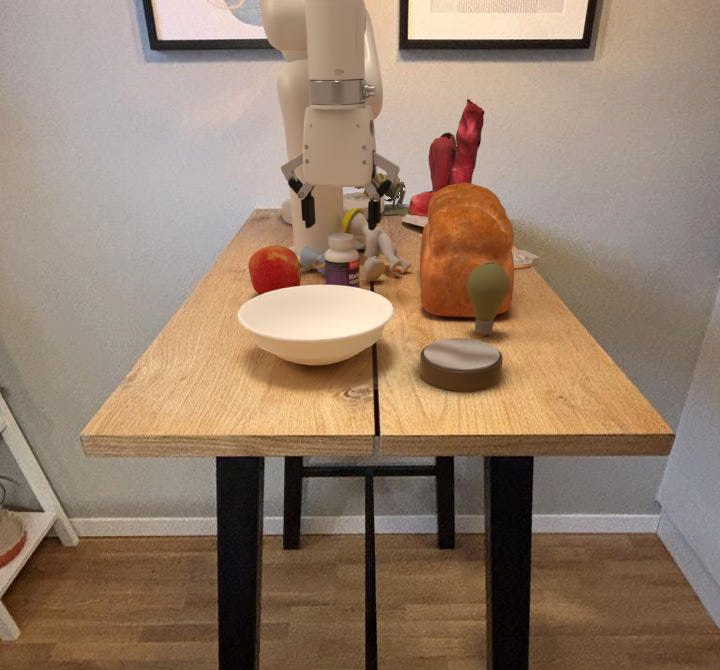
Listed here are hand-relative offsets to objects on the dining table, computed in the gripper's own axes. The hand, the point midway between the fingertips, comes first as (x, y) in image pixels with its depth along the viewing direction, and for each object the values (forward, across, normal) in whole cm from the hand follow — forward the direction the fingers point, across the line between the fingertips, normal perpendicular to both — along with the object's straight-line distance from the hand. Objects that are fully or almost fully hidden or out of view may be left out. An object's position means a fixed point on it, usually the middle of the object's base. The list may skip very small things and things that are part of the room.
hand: (341, 227), depth 98 cm
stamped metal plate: (+12, -27, -27) cm, 40 cm away
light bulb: (+12, -23, +10) cm, 28 cm away
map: (+11, -3, -62) cm, 63 cm away
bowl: (+12, -2, +22) cm, 25 cm away
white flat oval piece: (+10, +16, -57) cm, 60 cm away
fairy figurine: (+10, +16, -15) cm, 24 cm away
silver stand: (+12, -21, +23) cm, 33 cm away
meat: (+13, -16, -50) cm, 54 cm away
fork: (+7, +6, -33) cm, 34 cm away
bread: (+11, -18, -7) cm, 22 cm away
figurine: (+10, -5, -12) cm, 16 cm away
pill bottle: (+11, 0, -1) cm, 11 cm away
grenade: (+3, +10, -56) cm, 57 cm away
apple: (+11, +11, +1) cm, 16 cm away
